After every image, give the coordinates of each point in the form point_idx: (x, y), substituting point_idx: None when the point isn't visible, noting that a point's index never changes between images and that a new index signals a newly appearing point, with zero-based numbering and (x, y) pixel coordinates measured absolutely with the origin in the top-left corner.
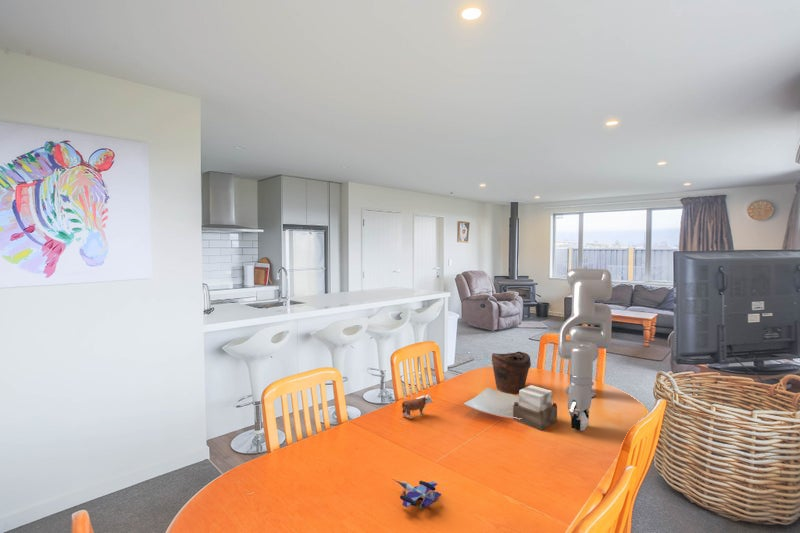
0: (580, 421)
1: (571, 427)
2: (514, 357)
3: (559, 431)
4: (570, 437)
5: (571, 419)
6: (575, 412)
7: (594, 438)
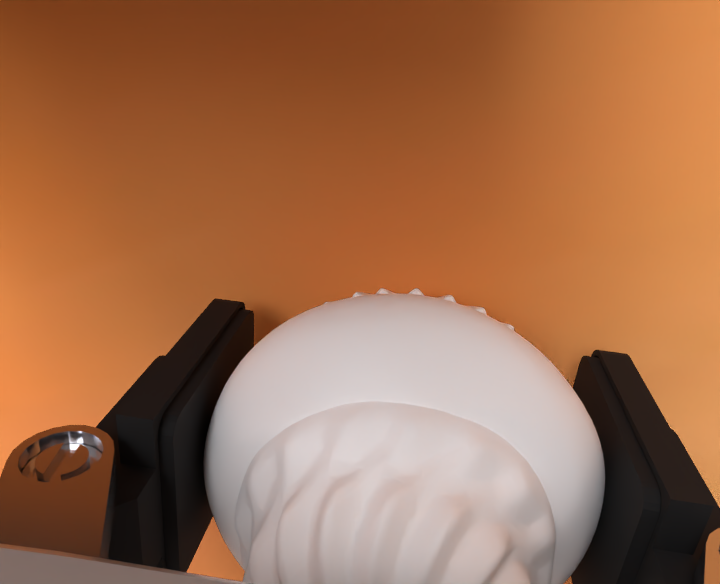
0: (225, 542)
1: (215, 303)
2: None
3: (39, 127)
4: (7, 338)
5: (145, 386)
6: (321, 523)
7: None
